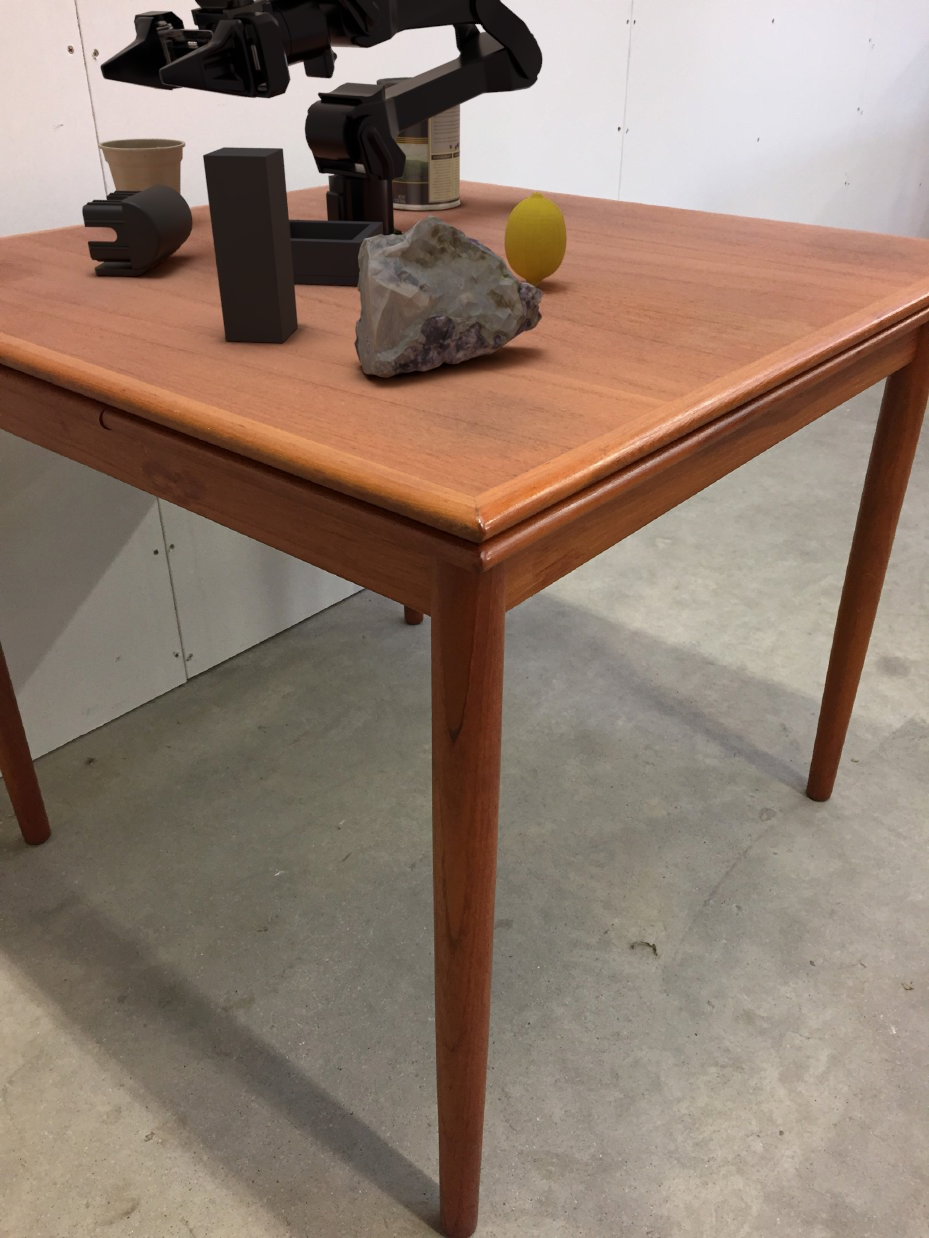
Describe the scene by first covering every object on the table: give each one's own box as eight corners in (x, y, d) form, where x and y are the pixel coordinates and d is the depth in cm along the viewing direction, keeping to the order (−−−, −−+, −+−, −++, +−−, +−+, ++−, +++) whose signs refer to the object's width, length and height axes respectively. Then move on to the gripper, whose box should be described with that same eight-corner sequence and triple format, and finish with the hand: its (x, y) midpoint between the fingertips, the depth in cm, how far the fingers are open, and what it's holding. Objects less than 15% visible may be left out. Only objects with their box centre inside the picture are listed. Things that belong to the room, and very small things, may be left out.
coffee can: (388, 212, 124) (384, 83, 116) (375, 199, 132) (369, 77, 125) (470, 209, 126) (470, 82, 118) (451, 196, 134) (450, 76, 127)
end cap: (165, 278, 94) (154, 201, 90) (91, 277, 94) (77, 200, 91) (198, 255, 102) (188, 184, 99) (130, 254, 103) (118, 183, 99)
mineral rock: (542, 346, 76) (548, 204, 71) (535, 392, 67) (541, 233, 61) (373, 340, 77) (367, 200, 72) (344, 385, 68) (334, 228, 63)
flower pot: (212, 222, 118) (203, 141, 113) (151, 236, 111) (138, 150, 107) (156, 214, 122) (144, 136, 118) (94, 227, 115) (79, 144, 111)
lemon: (570, 282, 93) (575, 189, 89) (555, 296, 89) (559, 199, 84) (513, 277, 95) (515, 186, 90) (495, 291, 90) (497, 195, 86)
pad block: (243, 325, 81) (223, 147, 74) (298, 327, 80) (283, 148, 73) (225, 341, 77) (202, 155, 70) (282, 343, 76) (265, 156, 69)
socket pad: (287, 259, 101) (283, 219, 99) (384, 262, 100) (382, 222, 98) (256, 282, 93) (251, 239, 91) (362, 286, 92) (360, 242, 90)
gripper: (188, -64, 95) (41, -34, 87) (317, -72, 84) (164, -39, 76) (219, 68, 102) (86, 107, 93) (342, 76, 91) (204, 121, 83)
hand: (131, 74), depth 86 cm, fingers open, 9 cm apart
